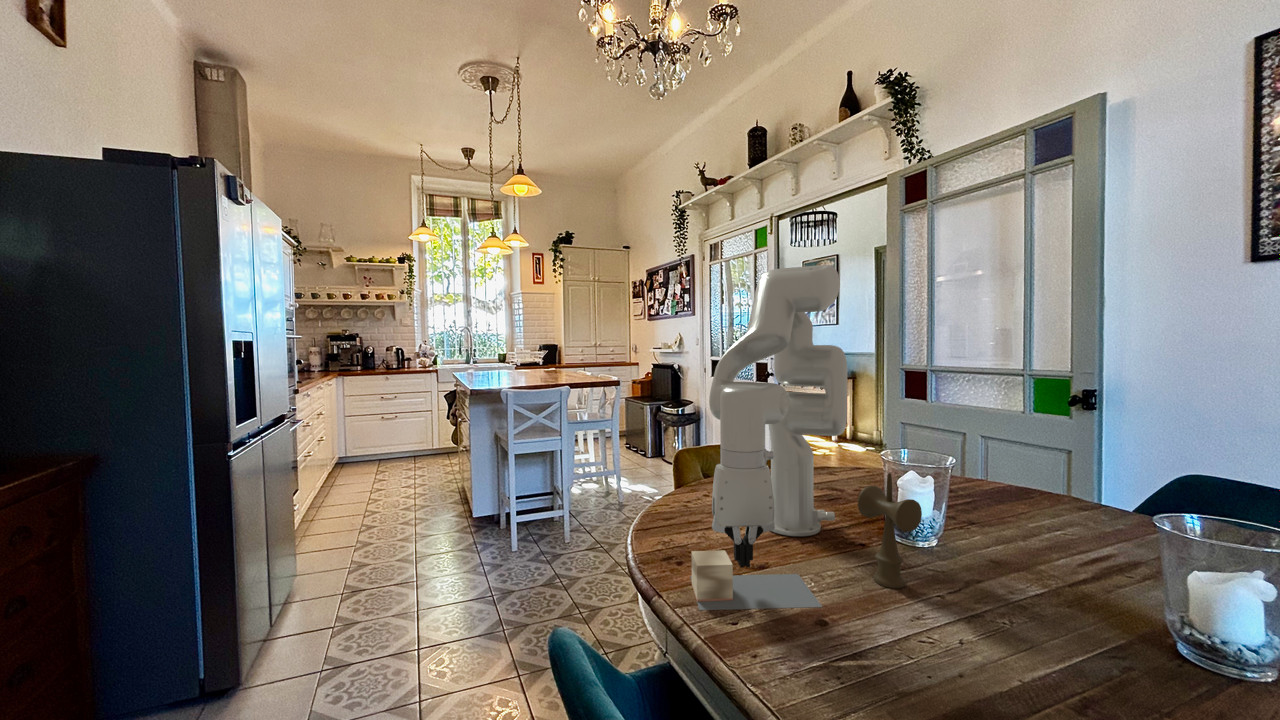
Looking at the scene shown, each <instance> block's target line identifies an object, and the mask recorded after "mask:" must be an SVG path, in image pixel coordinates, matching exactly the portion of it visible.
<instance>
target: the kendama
mask: <svg viewBox="0 0 1280 720" xmlns="http://www.w3.org/2000/svg"><path fill="white" fill-rule="evenodd" d="M885 490H886V492H885V493H884V491H883V490H882V489H881V488H880V487H879V486H878V485H870V484H869V485H868V486H865V487H863V488H862V489H861V491H860V493H859V495H858V499H857V509H858V512H859V513H860V515H861V516H863V517H864V518H868V519H869V518H871V519H872V518H876V517H879V516H880V515H883V516H884V523H883V524H884V525H883V532H882V539H881V545H880V548H879V551H878V552H876V554H875V555H874V557H875V559H876V561H877V570H876V572H875V573H874V574H873V576H872V579H873V581H874V582H875V584H878V585H879V586H882V587H884V588H887V589H901V588H903V587H905V585H907V583H906V580H905V579H904V578H903V577H902V574H901V565H902V564H903V563H904V559H903V557H902V556H901V555H900V553H899V548H898V543H897V537H896V530H895V526H896V527H897V528H898V530H901V531H902V532H908V533H909V532H910V533H911V532H913V531H915V530H916V529H917V528H918V527H919V526H920V524H921V521H922V515H923V513H922V507H921V505H920V503H919V502H918V501H916V500H915V499H911V498H910V499H909V498H907V499H904V500H901V501H893V479H892V473H891V472H888V473H887V476H886V488H885Z"/></svg>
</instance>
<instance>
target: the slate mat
mask: <svg viewBox="0 0 1280 720" xmlns="http://www.w3.org/2000/svg"><path fill="white" fill-rule="evenodd" d="M689 577H690V581H691V583H692V575H690V576H689ZM695 599H696V598H695ZM696 603H697V607H698V610H699V611H719V610H720V611H723V610H725V611H726V610H727V611H728V610H729V611H730V610H760V609H761V610H762V609H764V610H765V609H766V610H767V609H803V608H808V609H809V608H823V605H822V604H821V603H820V601H819V600H818V598H817V597H816V596H815V594H814V593H813V592H812V590H810V588H809V587H808V586H807V583H805V581H804V580H803V579H802V577H801V576H800V575H799V573H783V574H782V573H781V574H779V573H778V574H777V573H775V574H774V573H773V574H744V575H743V574H741V575H740V574H739V575H738V574H737V575H735V574H733V600H724V601H697V599H696Z"/></svg>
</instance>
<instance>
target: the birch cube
mask: <svg viewBox="0 0 1280 720" xmlns="http://www.w3.org/2000/svg"><path fill="white" fill-rule="evenodd" d="M733 569H734V568H733V563H732V560H731V559H730V556H729V555H728V553H727V552H726V550H722V549H721V550H691V576H692V582H691V586H692V589H693V593H694V596H695V599H697V600H696V602H697V601H724V600H733V575H734V572H733V571H734V570H733Z"/></svg>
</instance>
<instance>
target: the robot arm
mask: <svg viewBox="0 0 1280 720" xmlns="http://www.w3.org/2000/svg"><path fill="white" fill-rule="evenodd" d="M840 285H841V283H840V276H839V272H838V271H837V269H836V268H835V267H834V266H832V265H831V264H823V265H822V264H819V265H810V266H809V265H807V266H793V267H791V266H790V267H782V268H775V269H772V270H768V271H766V272H764V273H762V274H761V276H760V277H759V281H758V283H757V284H756V289H755V292H754V297H753V302H752V306H751V311H750V316H749V321H748V326H747V330H746V332H745V334H744V335H743V336H741V337H740V338H739V339H738V340H736V341H735V342H734V343H733V344H732V345H731V346H730V347H729V348H728V349H727V350H726V351H725V352H724V354H723V355H722V356H721V357H720V359H719V361H718V363H717V364H716V366H715V370H714V373H713V376H712V377H713V378H712V382H711V386H710V392H709V399H708V401H709V403H708V404H709V409H710V412H711V414H712V416H713V417H714V418H716V419H717V420H719V422H720V423H719V424H720V425H719V426H720V427H719V428H720V433H719V435H720V439H719V440H720V463H717V464H716V465H715V468H714V473H713V483H712V495H711V497H712V498H711V499H712V501H711V513H712V514H711V515H712V517H713V519H712V523H711V529H712V531H713V532H715V533H721V534H725V535H727V537H728V538H730V539H731V540H732V542H733V559H734V561H736V562H737V564H738V566H739V568H741V569H742V568H744V567H745V568H750V567H751V561H753V559H754V545H755V543H756V540H757V539H758V538H759V537H760V536H761V535H762V534H764V533H767V532H773V533H775V534H778V535H783V536H788V537H809V536H814V535H816V534H818V533H820V532H821V530H822V529H821V527H822V525H821V523H820V522H822V521H835V520H836V515H835V512H834V511H826V510H825V509H816V508H815V507H814V452H813V449H812V447H811V445H810V444H809V442H808V441H807V440H806V438H805V437H804V436H805V435H812V436H813V435H814V436H825V437H827V436H829V437H837V436H840V435H842V434H843V433H844V431H845V430H846V427H847V422H848V421H847V420H848V363H847V362H848V361H847V356H846V354H845V352H844V350H843V349H842V348H841V347H839V346H837V345H832V344H830V345H829V344H816V345H815V344H814V343H813V338H814V337H813V336H814V335H813V331H814V329H813V328H814V327H813V322H812V321H811V320H812V319H810V317H809V316H808V314H806V313H811V312H812V313H818V312H823V311H825V310H827V309H828V308H829V307H830V306H831V305H832V304H833V303H834V302H835V301H836V299H837V297H838V295H839V292H840V288H841V287H840ZM772 356H774V358H773V359H774V360H773V361H774V362H773V363H774V364H773V365H774V366H773V368H774V369H773V372H774V376H775V379H776V381H777V382H778V383H779V384H777V383H774V382H762V381H761V382H759V381H758V382H755V381H734V380H735V379H736V378H737V376H738V375H739V374H740V372H742V371H743V370H744V369H746V368H747V367H749V366H751V365H753V364H754V363H757V362H759V361H762V360H764V359H767V358H770V357H772ZM782 385H784V386H790V387H809V388H811V387H813V388H815V387H816V388H822V389H823V390H824V391H825V393H823V392H819V393H818V392H806V391H805V392H804V391H802V392H801V391H786V389H785V388H784V387H783V386H782ZM766 425H768V430H769V437H770V438H769V439H770V451H769V450H767V449H766ZM803 435H804V436H803ZM769 460H770V467H769V465H768V464H767V462H768V461H769ZM741 527H743V528H744V527H745V531H744V535H743V538H742V534H741V529H740V528H741Z"/></svg>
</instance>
